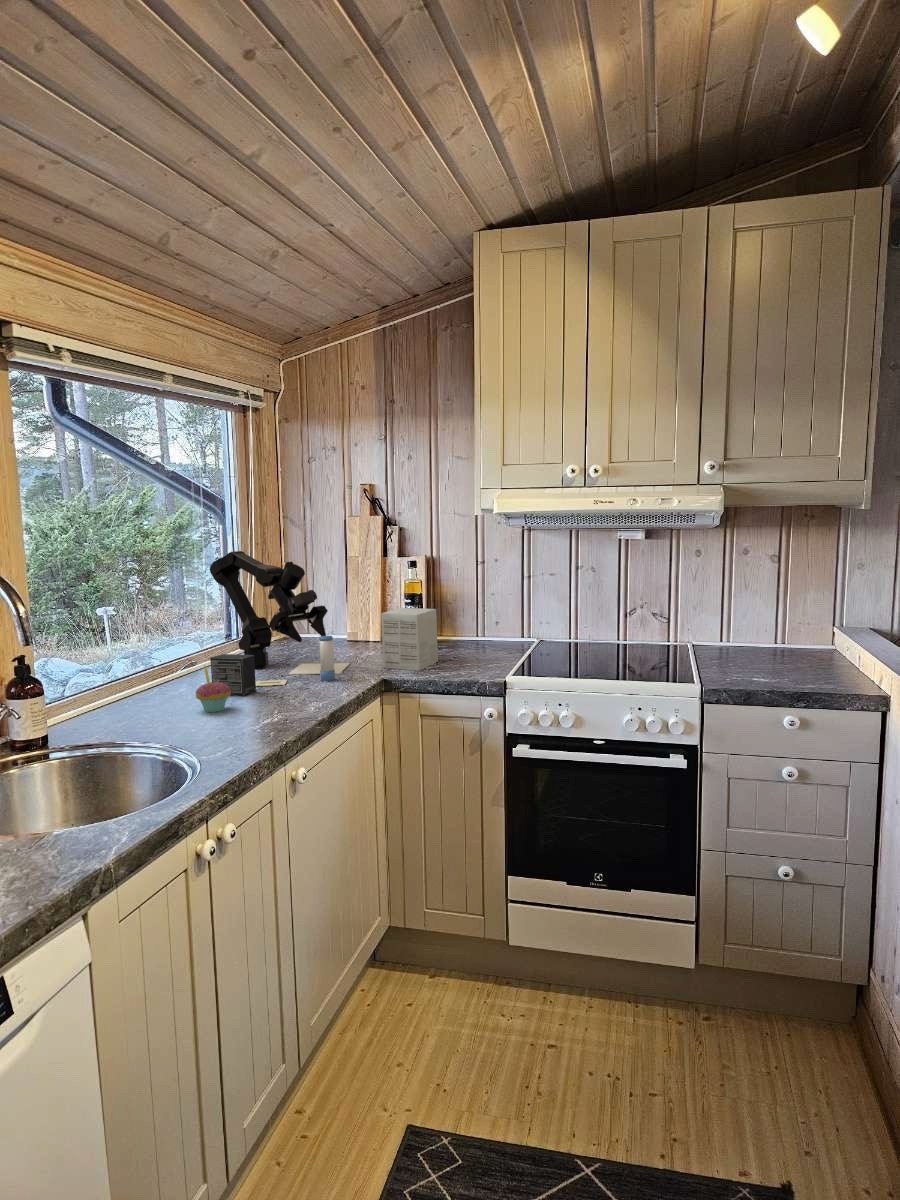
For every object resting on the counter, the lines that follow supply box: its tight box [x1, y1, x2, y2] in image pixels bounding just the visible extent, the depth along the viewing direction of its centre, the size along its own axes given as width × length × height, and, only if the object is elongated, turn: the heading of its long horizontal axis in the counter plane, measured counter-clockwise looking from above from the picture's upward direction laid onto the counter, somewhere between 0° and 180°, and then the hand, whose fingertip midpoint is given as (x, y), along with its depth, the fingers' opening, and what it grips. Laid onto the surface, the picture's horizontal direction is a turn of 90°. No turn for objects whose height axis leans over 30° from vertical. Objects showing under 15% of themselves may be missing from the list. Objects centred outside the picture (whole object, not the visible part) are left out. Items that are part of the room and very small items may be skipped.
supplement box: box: [380, 607, 439, 672], centre depth 246 cm, size 13×13×18 cm
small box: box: [209, 653, 257, 697], centre depth 216 cm, size 11×6×10 cm, turn 71°
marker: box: [318, 635, 336, 682], centre depth 228 cm, size 4×4×13 cm
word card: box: [255, 679, 288, 687], centre depth 226 cm, size 9×6×1 cm, turn 96°
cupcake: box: [195, 664, 232, 713], centre depth 198 cm, size 9×8×12 cm
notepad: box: [288, 661, 352, 675], centre depth 245 cm, size 16×16×1 cm
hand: (313, 639), depth 231 cm, fingers open, 9 cm apart
